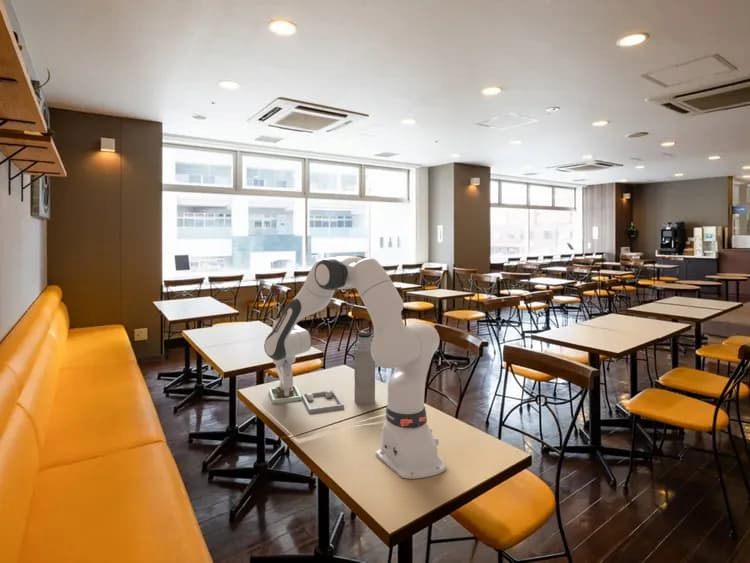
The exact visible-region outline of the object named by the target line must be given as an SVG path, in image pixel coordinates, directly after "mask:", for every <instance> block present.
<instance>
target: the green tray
mask: <svg viewBox="0 0 750 563" xmlns="http://www.w3.org/2000/svg"><path fill="white" fill-rule="evenodd" d="M292 388H293V390H294V392H295V394H296V395H294V397H287V398H279V399H278V398H275V397H274V395H277V394H276V387H272V388H271V387H270V388H268V394H269V397H270V400H271V401H272V402H271V403H272V404H280V403H287V402H288V403H290V402H296V401H302V395H301V393H300V391H299V389H298V387H297V385H293V386H292Z"/></svg>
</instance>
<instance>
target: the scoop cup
mask: <svg viewBox="0 0 750 563" xmlns="http://www.w3.org/2000/svg"><path fill="white" fill-rule="evenodd" d="M275 388H276V394H275V395H276V396H277V397H276V398H277V399H279V398H287V397H295V394H294V392H295V390H293V388H292V387H290V390H289V395H288V396H285V395H284V391H280V387H279V386H276V387H275Z"/></svg>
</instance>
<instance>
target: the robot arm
mask: <svg viewBox="0 0 750 563" xmlns="http://www.w3.org/2000/svg"><path fill="white" fill-rule="evenodd" d="M350 289H356V291H357V293H358V295H359V297H360V300H361V301H362V302H363V305H364V306H365V308H366V311H367V312H368V314H369V317H370V320H371V322H372V326H373V339H372V340H371V341H372V343H371V355H372V358H373V360H374V362H375V365H377V366H378V367H380V368H382V369H394V371H393V372H392V374H391V375H390V377H389V379H388V382H387V405H386V408H385V418H386V421H385V422H384V424H383V425H382V427H381V434H380V446H379V447H380V448H379V449H377V450H376V452H375V453H376V454H375V456H376V457H377V458H378V459H379V460H380V461H382V462H383V463H384V464H386V465H387V466H388V467H389V468H390V469H391V470H393V471H394V472H395V473H396V474H397V475H398V476H400V478H403V479H423V478H429V477H432V476H435V475H439V474H441V473H443V472H445V470H446V469H447V466H446V463H445V462H444V460H443V458H442V457H441V455H440V452H439V451H438V446H439V445H440V442H439V438H438V437H434V436H433V429H432V428H431V427H430V426H429V425H428V416H427V411H426V407H425V389H426V388H425V386H426V379H427V374H428V372H429V368H430V365H431V362H432V359H433V356H434V354H435V352H436V351H437V350H438V348H439V346H440V341H441V340H440V338H441V337H440V335H439V332H438V330H437V329H436V328H435V326H433V325H432V324H429V323H419V322H418V323H417V322H416V323H413V324H409V325H405V324H404V321H403V317H402V311H403V309H404V306H405V305H404V300H403V298H402V297H401V295H400V293H399V291H398V290H397V288H396V286H395V285H394V282H393V280H392V279H391V277H390V275H389V274H388V273H387V271H386V270H385V269H384V267H383V266H382V264H380V263H379V261H378V260H377V259H375V258H372V257H366V256H363V255H355V256H354V255H352V256H351V255H339V256H335V257H331V256H330V257H329V256H328V257H325V258H320V259H318V260H317V261H316V262H315V263H314V264H313V265H312V267H311V269H310V270H309V272H308V274H307V276H306V277H305V281H304V284H303V285H302V286H301V288H300V289H299V291H298V293H297V294H296V295H295V297H293V298H292V299H291V301H290V302H289V303H287V305H286V307H285V308H284V310H283V312H282V313H281V316H280V317H279V318H276V319H275V320H273V322H272V327H271V332H270V333H269V334H268V335H267V337H266V338H265V341H264V345H263V347H264V352H265V354H266V355H267V356H268V357H269V358H270V359H272V363H273V364H275V370H276V373H277V376H278V378H279V382H280V384H282V385H283V387H284V395H285V396H288V395H289V389H290V387H292V386H294V377H293V368H292V366H293V363H295V362H296V356H297V355H300V354H303V353H307V352H309V351H310V349H311V347H312V344H313V338H312V334H311V333H310V331H309V330H308V329H306V328H303V327H301V326H300V325H298V323H299V322H300V321H301V320H303V319H305V318H306V317H308V316H310V315H313V314H316V313H318V312H321V311H323V310H324V309H325V308H326V307H327V306H328V305H329V304H330V303H331V300H332V299H333V296H334V294H335V292H336V290H350Z"/></svg>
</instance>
